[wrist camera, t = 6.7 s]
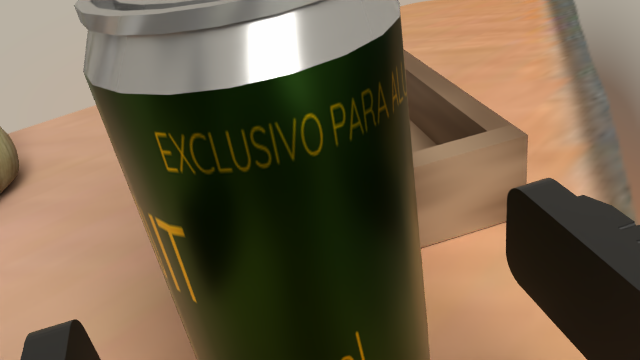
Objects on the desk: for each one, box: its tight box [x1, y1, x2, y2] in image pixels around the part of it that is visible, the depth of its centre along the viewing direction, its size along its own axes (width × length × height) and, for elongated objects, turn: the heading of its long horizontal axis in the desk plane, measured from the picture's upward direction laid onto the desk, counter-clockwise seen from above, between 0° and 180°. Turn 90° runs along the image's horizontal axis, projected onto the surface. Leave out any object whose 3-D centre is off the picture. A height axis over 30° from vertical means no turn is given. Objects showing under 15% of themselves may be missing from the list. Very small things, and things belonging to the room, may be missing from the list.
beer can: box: [74, 0, 430, 360], centre depth 12 cm, size 5×5×12 cm
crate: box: [403, 49, 528, 248], centre depth 28 cm, size 12×18×4 cm, turn 16°
